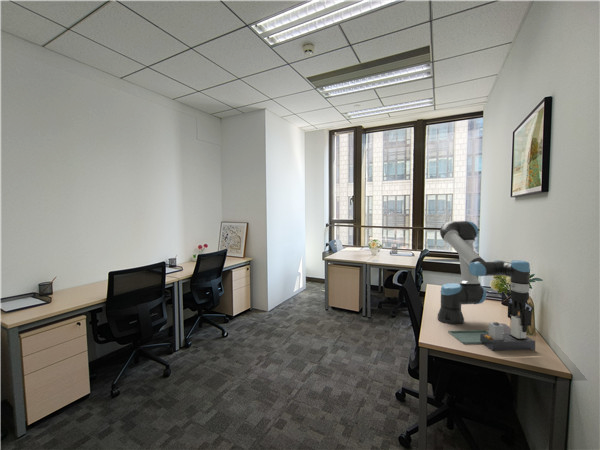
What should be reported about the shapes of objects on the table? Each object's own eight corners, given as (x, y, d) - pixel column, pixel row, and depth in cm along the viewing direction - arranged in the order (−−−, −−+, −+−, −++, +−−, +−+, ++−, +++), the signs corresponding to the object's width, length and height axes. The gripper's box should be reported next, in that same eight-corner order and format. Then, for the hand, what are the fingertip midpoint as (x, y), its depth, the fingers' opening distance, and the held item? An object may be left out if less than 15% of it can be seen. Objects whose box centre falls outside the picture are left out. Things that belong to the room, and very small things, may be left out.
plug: (518, 334, 144) (519, 314, 143) (526, 338, 139) (526, 317, 139) (510, 334, 143) (511, 314, 143) (517, 338, 139) (518, 317, 139)
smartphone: (505, 323, 170) (519, 334, 155) (505, 325, 170) (519, 335, 155) (492, 322, 171) (504, 332, 157) (492, 324, 171) (504, 334, 157)
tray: (448, 333, 158) (448, 330, 158) (485, 332, 159) (485, 329, 159) (463, 344, 144) (463, 342, 144) (504, 344, 145) (504, 341, 145)
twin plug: (488, 341, 143) (488, 321, 143) (496, 341, 144) (497, 321, 143) (494, 345, 139) (495, 324, 139) (503, 345, 139) (503, 324, 139)
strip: (480, 343, 146) (480, 332, 145) (520, 342, 146) (520, 331, 146) (492, 351, 137) (492, 340, 136) (535, 350, 137) (535, 339, 137)
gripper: (499, 286, 149) (498, 328, 150) (527, 296, 132) (526, 343, 133) (513, 286, 149) (512, 328, 150) (542, 295, 132) (541, 343, 133)
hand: (518, 335), depth 141 cm, fingers closed on plug, 4 cm apart
